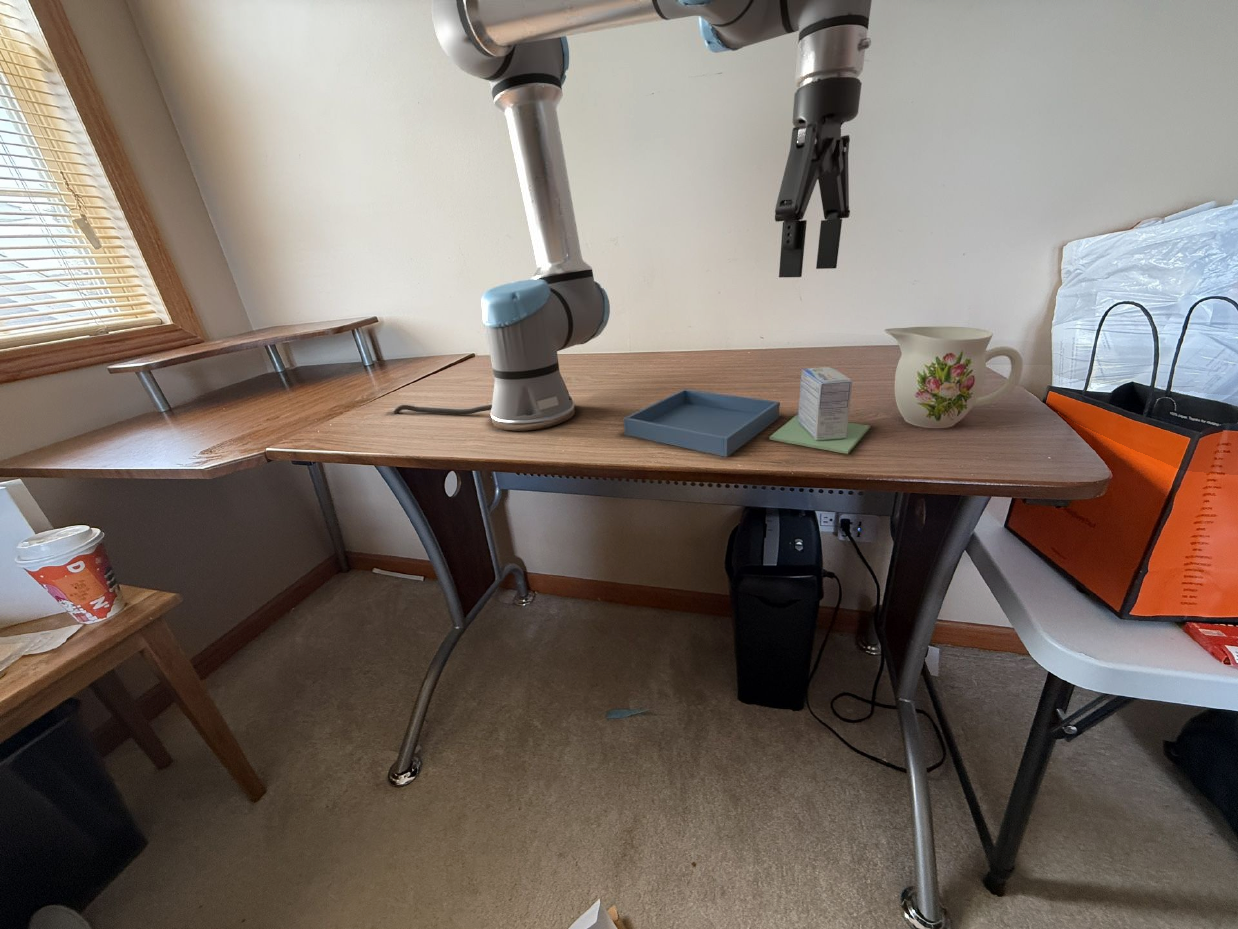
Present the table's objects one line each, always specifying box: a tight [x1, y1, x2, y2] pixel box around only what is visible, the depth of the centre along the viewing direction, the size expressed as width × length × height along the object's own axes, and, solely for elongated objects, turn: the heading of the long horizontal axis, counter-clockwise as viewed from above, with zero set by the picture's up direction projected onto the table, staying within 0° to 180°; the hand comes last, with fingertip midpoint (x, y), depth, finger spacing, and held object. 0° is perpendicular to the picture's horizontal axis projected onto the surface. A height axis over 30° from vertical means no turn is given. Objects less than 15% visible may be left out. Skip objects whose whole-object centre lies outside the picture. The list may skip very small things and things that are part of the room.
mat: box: [768, 414, 871, 455], centre depth 71 cm, size 11×11×1 cm
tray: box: [623, 388, 781, 458], centre depth 77 cm, size 18×18×3 cm
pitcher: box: [884, 326, 1024, 429], centre depth 69 cm, size 11×18×14 cm, turn 74°
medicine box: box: [797, 366, 853, 440], centre depth 69 cm, size 8×4×9 cm, turn 179°
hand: (809, 272), depth 66 cm, fingers open, 13 cm apart
